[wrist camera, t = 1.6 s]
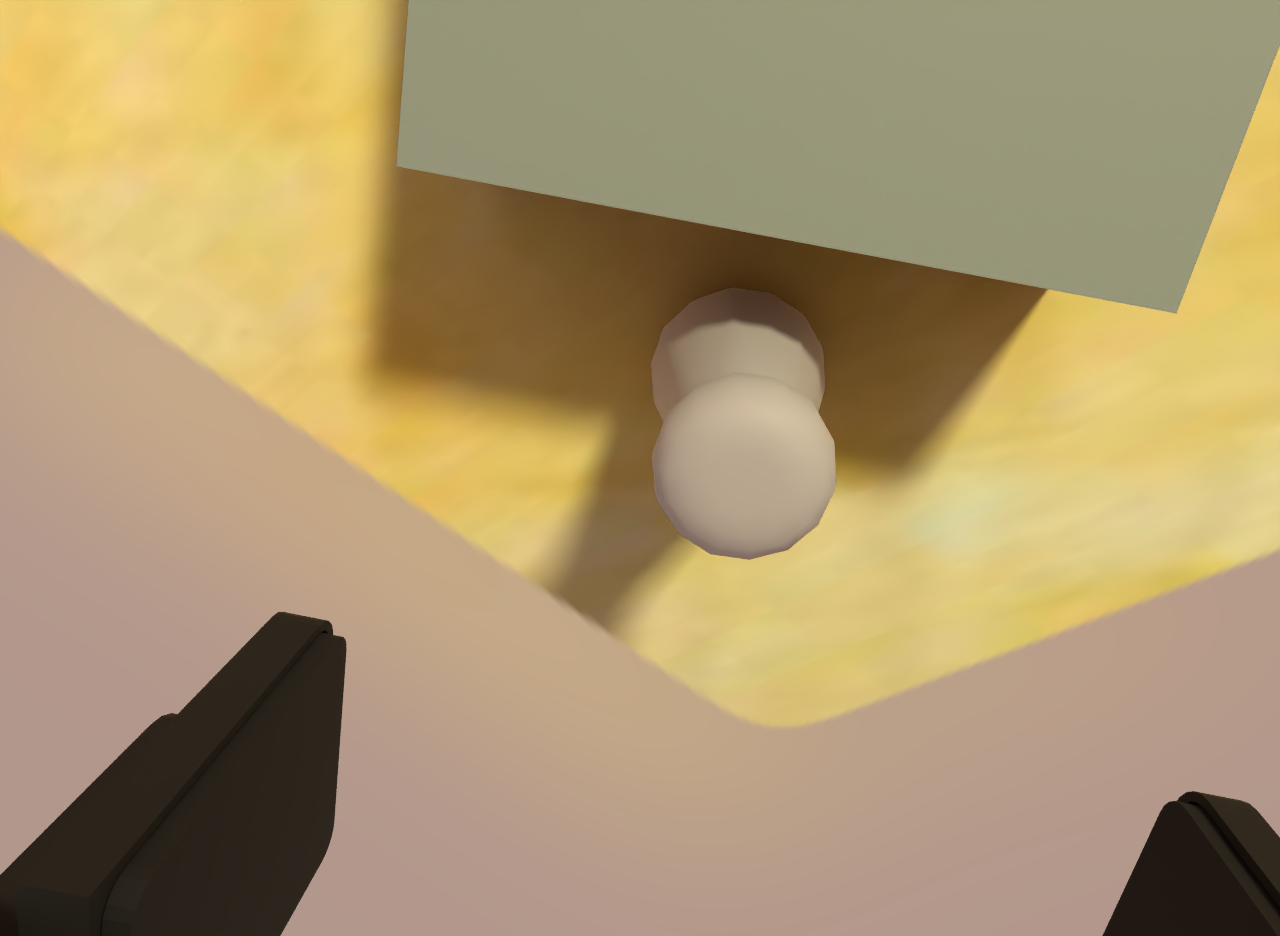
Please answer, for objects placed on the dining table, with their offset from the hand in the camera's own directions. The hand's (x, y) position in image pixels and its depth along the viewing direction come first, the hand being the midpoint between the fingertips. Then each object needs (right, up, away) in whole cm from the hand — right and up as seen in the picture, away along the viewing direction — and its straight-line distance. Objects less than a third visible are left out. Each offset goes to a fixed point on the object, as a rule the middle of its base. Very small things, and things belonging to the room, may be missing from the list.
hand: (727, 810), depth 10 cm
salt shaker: (+2, +8, +22) cm, 23 cm away
